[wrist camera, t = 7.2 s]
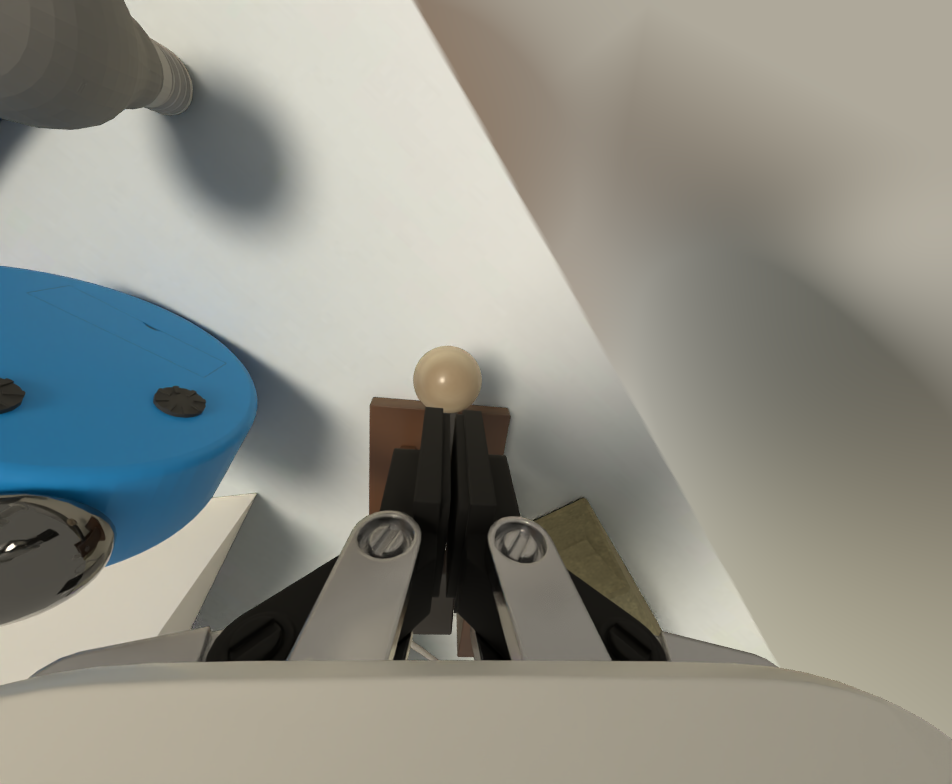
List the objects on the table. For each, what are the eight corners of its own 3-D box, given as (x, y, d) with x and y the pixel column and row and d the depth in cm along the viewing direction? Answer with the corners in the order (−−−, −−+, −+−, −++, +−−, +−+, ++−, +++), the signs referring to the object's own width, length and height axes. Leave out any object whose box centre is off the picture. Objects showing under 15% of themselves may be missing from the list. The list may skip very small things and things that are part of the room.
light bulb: (113, 149, 18) (-239, 75, 9) (73, -21, 15) (-474, -373, 6) (245, 169, 18) (49, 120, 9) (228, 10, 16) (-61, -268, 7)
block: (-163, 620, 29) (-548, 872, 18) (152, 402, 23) (-124, 572, 12) (52, 713, 36) (-126, 936, 25) (337, 562, 30) (272, 766, 19)
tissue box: (656, 619, 36) (792, 881, 22) (566, 656, 38) (638, 922, 23) (583, 492, 29) (716, 764, 14) (474, 544, 30) (498, 835, 16)
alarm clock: (35, 336, 21) (-714, 546, 7) (62, 241, 19) (-879, 292, 6) (260, 443, 25) (35, 710, 11) (300, 373, 23) (88, 592, 9)
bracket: (373, 396, 24) (312, 537, 13) (508, 407, 25) (552, 546, 14) (372, 514, 28) (325, 693, 17) (488, 519, 29) (510, 691, 18)
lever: (417, 345, 19) (414, 338, 15) (480, 351, 19) (489, 346, 16) (396, 597, 19) (389, 641, 16) (458, 598, 19) (463, 641, 16)
